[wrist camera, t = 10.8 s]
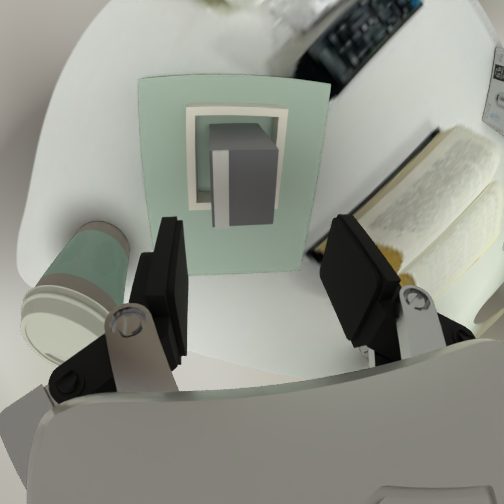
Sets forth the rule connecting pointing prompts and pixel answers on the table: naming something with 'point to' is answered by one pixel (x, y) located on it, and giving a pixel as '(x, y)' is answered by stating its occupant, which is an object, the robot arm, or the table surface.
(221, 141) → the plug
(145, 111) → the board
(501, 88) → the light bulb box
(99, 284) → the coffee cup
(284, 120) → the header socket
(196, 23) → the table surface
